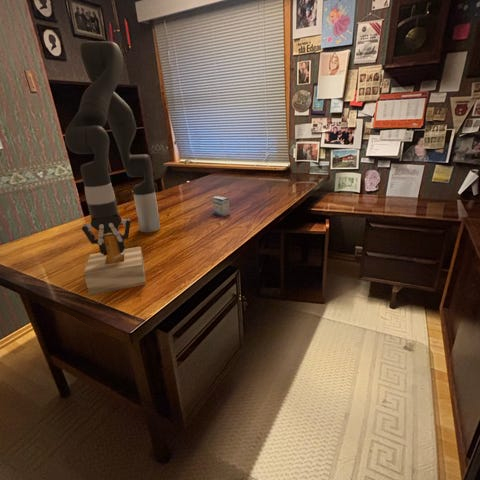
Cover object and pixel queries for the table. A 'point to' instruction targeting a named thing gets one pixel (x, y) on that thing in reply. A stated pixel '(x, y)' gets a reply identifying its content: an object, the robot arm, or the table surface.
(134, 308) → the table surface
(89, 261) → the bore block
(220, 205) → the medicine box
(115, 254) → the supplement box
